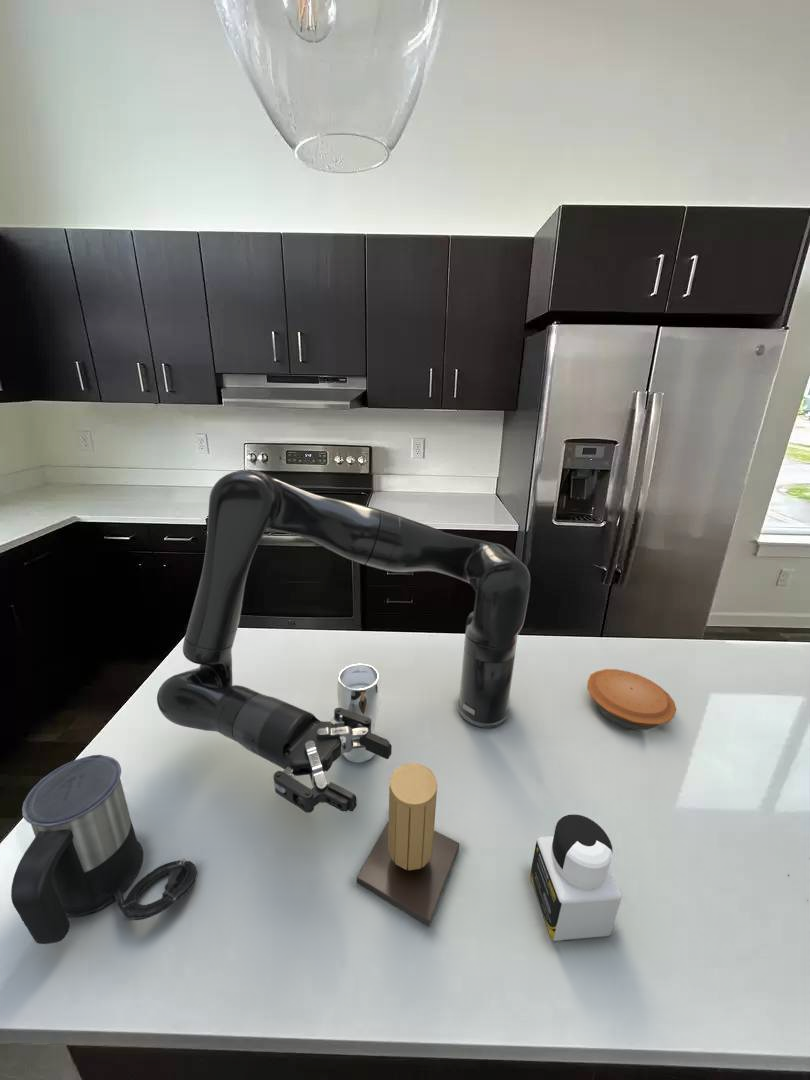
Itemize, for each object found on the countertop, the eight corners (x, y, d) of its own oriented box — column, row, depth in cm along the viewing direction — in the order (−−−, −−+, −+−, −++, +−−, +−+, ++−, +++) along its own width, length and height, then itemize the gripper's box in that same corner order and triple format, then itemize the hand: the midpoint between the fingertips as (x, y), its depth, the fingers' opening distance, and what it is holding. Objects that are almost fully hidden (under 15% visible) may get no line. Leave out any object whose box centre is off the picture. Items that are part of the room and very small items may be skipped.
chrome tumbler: (373, 769, 69) (373, 694, 64) (333, 761, 70) (330, 686, 65) (384, 736, 76) (385, 666, 70) (346, 729, 77) (345, 660, 72)
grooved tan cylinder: (400, 817, 58) (402, 756, 54) (440, 837, 55) (445, 774, 52) (380, 855, 53) (380, 790, 49) (422, 879, 51) (426, 813, 47)
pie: (649, 686, 90) (655, 666, 89) (687, 743, 76) (695, 721, 74) (575, 680, 92) (579, 660, 90) (598, 735, 77) (603, 713, 76)
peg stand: (394, 816, 62) (395, 741, 57) (459, 849, 58) (467, 771, 53) (356, 883, 53) (354, 802, 49) (429, 927, 49) (435, 843, 44)
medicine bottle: (528, 874, 55) (541, 807, 51) (581, 870, 55) (598, 803, 51) (551, 942, 48) (568, 871, 44) (611, 937, 49) (633, 866, 45)
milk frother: (67, 852, 56) (37, 767, 51) (200, 809, 62) (184, 730, 57) (28, 985, 44) (-18, 890, 39) (197, 916, 50) (177, 826, 45)
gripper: (232, 744, 53) (340, 800, 46) (306, 678, 65) (400, 715, 58) (239, 788, 56) (342, 848, 49) (309, 718, 68) (399, 757, 61)
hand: (373, 776), depth 53 cm, fingers open, 8 cm apart
